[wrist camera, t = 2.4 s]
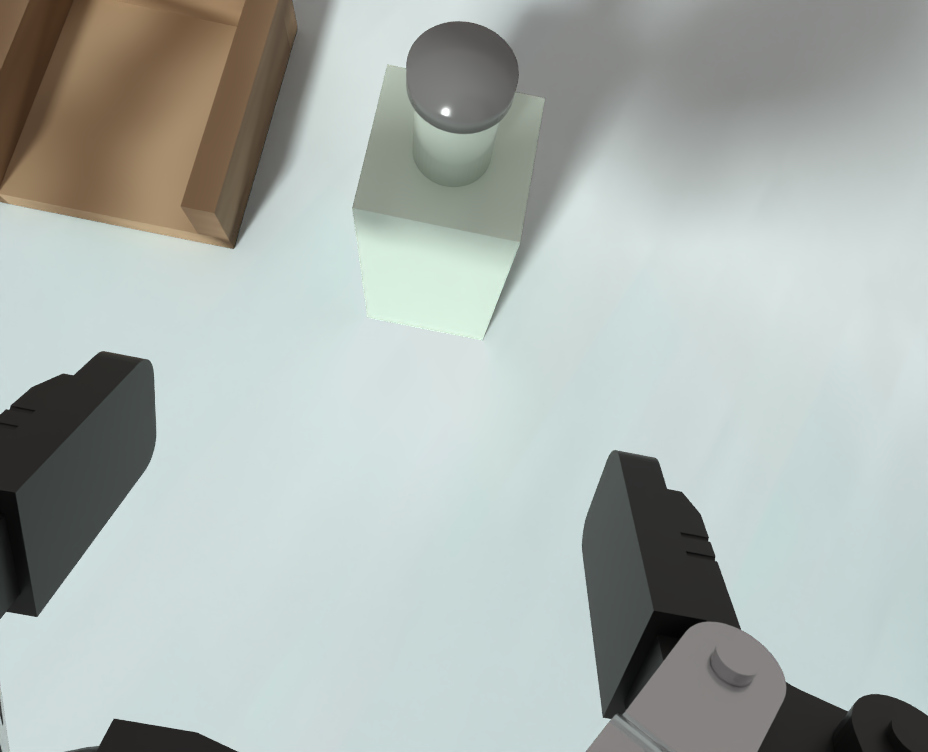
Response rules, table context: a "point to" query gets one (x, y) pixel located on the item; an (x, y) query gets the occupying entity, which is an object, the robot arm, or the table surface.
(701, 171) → the table surface
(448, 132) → the bottle
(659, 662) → the robot arm
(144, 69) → the rest
